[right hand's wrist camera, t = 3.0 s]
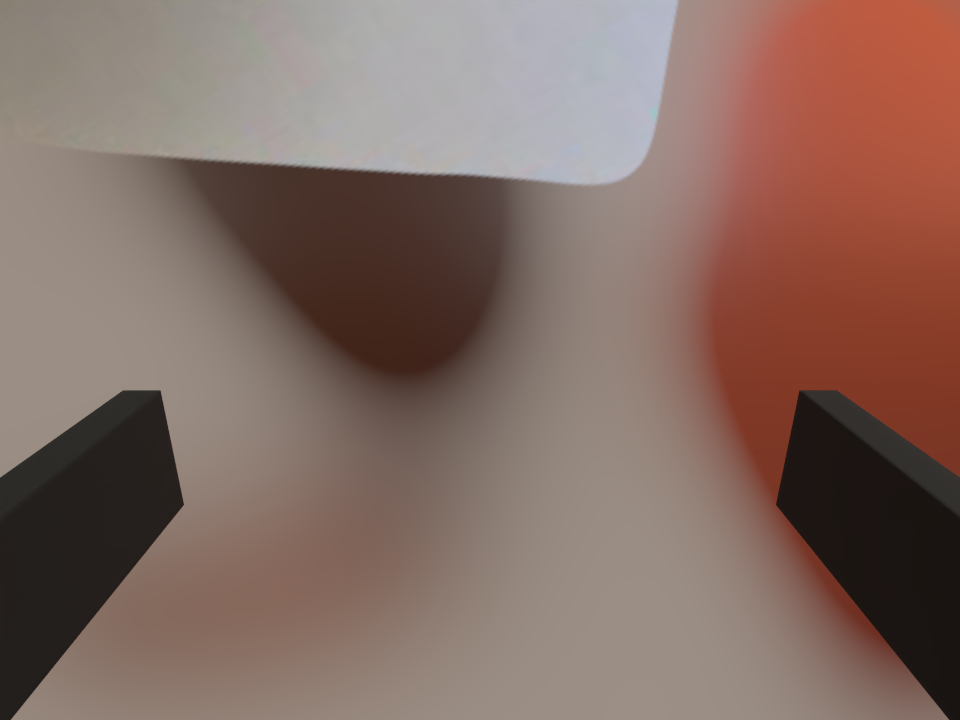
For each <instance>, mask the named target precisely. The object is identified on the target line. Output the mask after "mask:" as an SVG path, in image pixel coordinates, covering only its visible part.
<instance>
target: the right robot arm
mask: <svg viewBox="0 0 960 720" xmlns="http://www.w3.org/2000/svg"><path fill="white" fill-rule="evenodd" d="M183 505H184V503H183V498H182V493H181V488H180V483H179V479H178V474H177V469H176V464H175V459H174V454H173V449H172V444H171V440H170V435H169V430H168V425H167V420H166V415H165V411H164V406H163V401H162V396H161V391H122V392H120V393H119V394H118V395H116V396H115V397H113V398H112V399H110V400H109V401H108V402H106V403H105V404H103V405H102V406H101V407H99V408H98V409H96V410H95V411H94V412H92V413H91V414H89V415H88V416H87V417H85V418H84V419H82V420H81V421H79V422H78V423H77V424H75V425H74V426H72V427H71V428H70V429H68V430H67V431H65V432H64V433H63V434H61V435H60V436H58V437H57V438H56V439H54V440H53V441H51V442H50V443H48V444H47V445H46V446H44V447H43V448H41V449H40V450H39V451H37V452H36V453H34V454H33V455H32V456H30V457H29V458H27V459H26V460H25V461H23V462H22V463H20V464H19V465H18V466H16V467H15V468H13V469H12V470H11V471H9V472H8V473H6V474H5V475H3V476H2V477H1V478H0V720H11V719H12V717H13V716H14V715H15V714H16V713H17V711H18V710H19V709H20V708H21V706H22V705H23V704H24V703H25V701H26V700H27V699H28V698H29V696H30V695H31V694H32V693H33V691H34V690H35V689H36V688H37V686H38V685H39V684H40V683H41V681H42V680H43V679H44V678H45V677H46V675H47V674H48V673H49V671H50V670H51V669H52V668H53V667H54V665H55V664H56V663H57V662H58V660H59V659H60V658H61V657H62V655H63V654H64V653H65V652H66V650H67V649H68V648H69V647H70V645H71V644H72V643H73V642H74V640H75V639H76V638H77V637H78V635H79V634H80V633H81V632H82V630H83V629H84V628H85V627H86V626H87V624H88V623H89V622H90V621H91V619H92V618H93V617H94V616H95V614H96V613H97V612H98V611H99V610H100V608H101V607H102V606H103V605H104V603H105V602H106V601H107V600H108V598H109V597H110V596H111V595H112V593H113V592H114V591H115V590H116V588H117V587H118V586H119V585H120V583H121V582H122V581H123V580H124V578H125V577H126V576H127V575H128V574H129V572H130V571H131V570H132V569H133V567H134V566H135V565H136V564H137V562H138V561H139V560H140V559H141V557H142V556H143V555H144V554H145V552H146V551H147V550H148V549H149V547H150V546H151V545H152V544H153V542H154V541H155V540H156V539H157V537H158V536H159V535H160V534H161V532H162V531H163V530H164V529H165V528H166V526H167V525H168V524H169V523H170V521H171V520H172V519H173V518H174V516H175V515H176V514H177V513H178V511H179V510H180V509H181V508H182V506H183ZM776 505H777V506H778V508H779V509H780V510H781V511H782V513H783V514H784V515H785V516H786V518H787V519H788V520H789V521H790V523H791V524H792V525H793V526H794V528H795V529H796V530H797V531H798V533H799V534H800V535H801V536H802V538H803V539H804V540H805V541H806V542H807V544H808V545H809V546H810V547H811V549H812V550H813V551H814V552H815V554H816V555H817V556H818V557H819V559H820V560H821V561H822V562H823V564H824V565H825V566H826V567H827V569H828V570H829V571H830V572H831V573H832V575H833V576H834V577H835V578H836V580H837V581H838V582H839V583H840V585H841V586H842V587H843V588H844V590H845V591H846V592H847V593H848V595H849V596H850V597H851V598H852V600H853V601H854V602H855V603H856V605H857V606H858V607H859V608H860V610H861V611H862V612H863V613H864V614H865V616H866V617H867V618H868V619H869V621H870V622H871V623H872V624H873V626H874V627H875V628H876V629H877V631H878V632H879V633H880V634H881V636H882V637H883V638H884V639H885V641H886V642H887V643H888V644H889V646H890V647H891V648H892V649H893V650H894V652H895V653H896V654H897V655H898V657H899V658H900V659H901V660H902V662H903V663H904V664H905V665H906V667H907V668H908V669H909V670H910V672H911V673H912V674H913V675H914V677H915V678H916V679H917V680H918V681H919V683H920V684H921V685H922V686H923V688H924V689H925V690H926V691H927V693H928V694H929V695H930V696H931V698H932V699H933V700H934V701H935V703H936V704H937V705H938V706H939V708H940V709H941V710H942V711H943V713H944V714H945V715H946V716H947V717H948V719H949V720H960V478H959V477H958V476H957V475H955V474H954V473H952V472H951V471H950V470H948V469H947V468H945V467H944V466H943V465H941V464H940V463H938V462H937V461H935V460H934V459H933V458H931V457H930V456H928V455H927V454H926V453H924V452H923V451H921V450H920V449H919V448H917V447H916V446H914V445H913V444H912V443H910V442H909V441H907V440H906V439H904V438H903V437H902V436H900V435H899V434H897V433H896V432H895V431H893V430H892V429H890V428H889V427H888V426H886V425H885V424H883V423H882V422H881V421H879V420H878V419H876V418H875V417H873V416H872V415H871V414H869V413H868V412H866V411H865V410H864V409H862V408H861V407H859V406H858V405H857V404H855V403H854V402H852V401H851V400H850V399H848V398H847V397H845V396H844V395H842V394H841V393H840V392H838V391H799V396H798V401H797V406H796V410H795V415H794V420H793V425H792V430H791V435H790V440H789V444H788V449H787V454H786V459H785V464H784V469H783V474H782V479H781V483H780V488H779V493H778V498H777V503H776Z"/></svg>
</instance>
